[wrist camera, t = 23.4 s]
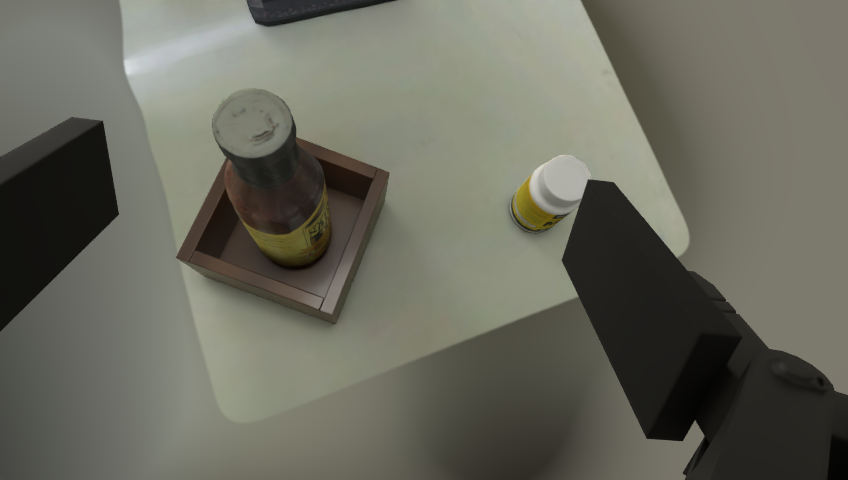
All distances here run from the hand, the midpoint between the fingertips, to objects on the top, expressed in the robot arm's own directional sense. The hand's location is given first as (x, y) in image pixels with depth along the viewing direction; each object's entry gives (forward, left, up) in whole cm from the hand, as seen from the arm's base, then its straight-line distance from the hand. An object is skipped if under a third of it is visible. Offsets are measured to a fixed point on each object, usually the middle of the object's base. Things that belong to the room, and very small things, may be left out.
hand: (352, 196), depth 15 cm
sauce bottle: (+7, -5, -31) cm, 32 cm away
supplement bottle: (-12, -15, -32) cm, 37 cm away
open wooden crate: (+7, -5, -32) cm, 33 cm away
